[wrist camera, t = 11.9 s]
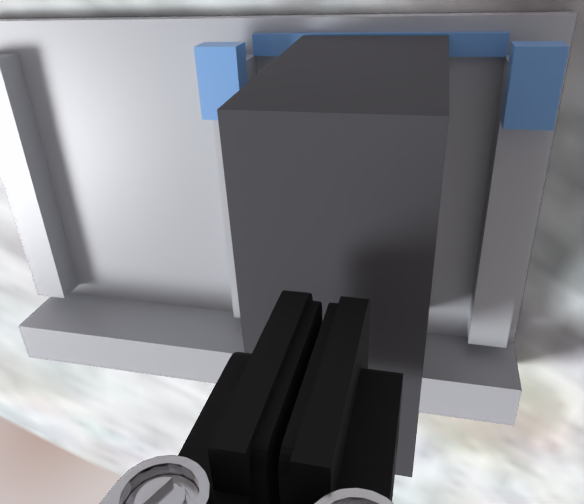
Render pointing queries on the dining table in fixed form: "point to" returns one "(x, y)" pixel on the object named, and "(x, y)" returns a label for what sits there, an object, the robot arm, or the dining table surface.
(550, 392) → the dining table surface
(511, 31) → the grey tray
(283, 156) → the dark gray block
